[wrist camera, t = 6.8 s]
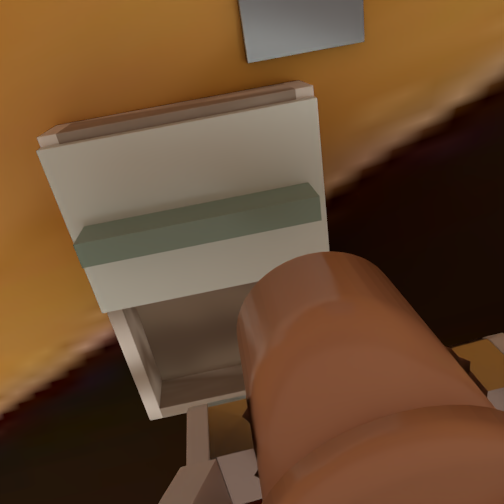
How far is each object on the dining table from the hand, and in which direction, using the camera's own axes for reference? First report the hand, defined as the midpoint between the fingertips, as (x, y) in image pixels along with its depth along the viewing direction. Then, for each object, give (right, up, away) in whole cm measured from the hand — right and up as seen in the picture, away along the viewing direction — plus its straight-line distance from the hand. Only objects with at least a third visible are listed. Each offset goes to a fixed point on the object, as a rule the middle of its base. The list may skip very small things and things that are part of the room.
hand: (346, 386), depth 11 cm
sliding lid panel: (-6, +6, +14) cm, 16 cm away
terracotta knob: (0, +1, +2) cm, 3 cm away
